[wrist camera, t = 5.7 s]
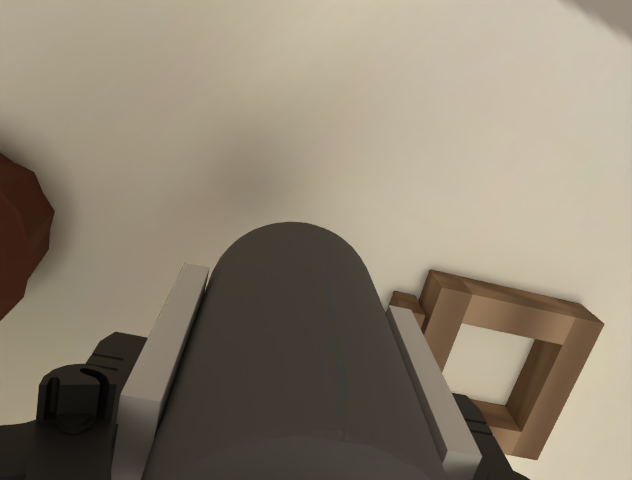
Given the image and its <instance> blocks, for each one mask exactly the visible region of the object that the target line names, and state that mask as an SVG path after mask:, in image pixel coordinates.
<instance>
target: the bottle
mask: <svg viewBox="0 0 632 480" xmlns="http://www.w3.org/2000/svg"><path fill="white" fill-rule="evenodd" d="M141 480H448V479H447V476H446V473H445V471H444V468H443V465H442V463H441V460H440V457H439V455H438V452H437V449H436V446H435V444H434V441H433V438H432V436H431V433H430V430H429V428H428V425H427V422H426V419H425V417H424V414H423V411H422V409H421V406H420V403H419V401H418V398H417V396H416V393H415V390H414V388H413V385H412V383H411V380H410V377H409V375H408V372H407V369H406V367H405V364H404V362H403V359H402V356H401V354H400V351H399V349H398V346H397V343H396V341H395V338H394V335H393V333H392V330H391V328H390V325H389V322H388V320H387V317H386V315H385V312H384V309H383V307H382V304H381V302H380V299H379V296H378V294H377V292H376V289H375V287H374V284H373V282H372V280H371V277H370V275H369V272H368V270H367V268H366V266H365V265H364V263H363V261H362V259H361V258H360V256H359V255H358V254H357V252H356V251H355V250H354V249H353V247H351V246H350V245H349V244H348V243H347V242H346V241H345V240H344V239H342V238H341V237H339V236H338V235H337V234H335V233H333V232H331V231H329V230H327V229H325V228H322V227H319V226H316V225H312V224H308V223H301V222H283V223H275V224H270V225H266V226H263V227H260V228H257V229H255V230H252V231H251V232H249V233H247V234H246V235H244V236H242V237H241V238H239V239H238V240H237V241H235V242H234V243H233V244H232V245H231V246H230V247H229V248H228V249H227V250H226V252H225V253H224V254H223V255H222V256H221V258H220V259H219V261H218V263H217V265H216V267H215V268H214V270H213V272H212V275H211V277H210V280H209V282H208V285H207V287H206V290H205V293H204V296H203V299H202V302H201V304H200V307H199V310H198V313H197V316H196V319H195V322H194V325H193V327H192V330H191V333H190V336H189V339H188V342H187V345H186V348H185V350H184V353H183V356H182V359H181V362H180V365H179V368H178V371H177V374H176V377H175V379H174V382H173V385H172V388H171V391H170V394H169V397H168V400H167V403H166V406H165V409H164V412H163V415H162V418H161V421H160V424H159V427H158V430H157V433H156V436H155V439H154V442H153V445H152V447H151V450H150V453H149V456H148V459H147V462H146V465H145V468H144V471H143V474H142V477H141Z"/></svg>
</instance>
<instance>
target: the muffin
mask: <svg viewBox="0 0 632 480" xmlns="http://www.w3.org/2000/svg"><path fill="white" fill-rule="evenodd" d="M54 213H55V211H54V209H53V208H52V206H51V205H50V203H49V202H48V200H47V199H46V197H45V196H44V194H43V192H42V190H41V187H40V185H39V183H38V180H37V178H36V176H35V173H34V172H32V171H30V170H28V169H26V168H24V167H22V166H20V165H18V164H16V163H14V162H12V161H11V160H10V159H8V158H7V157H5V156H4V155H3V154H1V153H0V321H1V320H2V319H3V318H4V317H5V316H6V315H7V314H8V313H9V312H10V311H11V310H12V309H13V308H14V307H15V306H16V304H17V303H18V302H19V301H20V300H21V299H22V298H23V297H24V293H25V289H26V285H27V281H28V279H29V277H30V276H31V274H32V273H33V271H34V270H35V268H36V267H37V266H38V264H39V263H40V261H41V260H42V258H43V257H44V255H45V254H46V252H47V251H48V249H49V235H50V227H51V224H52V220H53V216H54Z"/></svg>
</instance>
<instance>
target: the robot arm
mask: <svg viewBox="0 0 632 480" xmlns="http://www.w3.org/2000/svg"><path fill="white" fill-rule="evenodd" d="M208 272H209V268H206V267H201V266H196V265H192V264H187V263H185V264H184V266H183V268H182V270H181V272H180V274H179V276H178V278H177V280H176V282H175V284H174V286H173V288H172V290H171V292H170V294H169V296H168V298H167V300H166V302H165V304H164V307H163V309H162V311H161V313H160V315H159V317H158V319H157V321H156V323H155V325H154V327H153V329H152V331H151V333H150V335H149V337H148V338H146V337H141V336H136V335H130V334H125V333H119V332H114V333H113V334H111V335H109V336H108V337H106V338H104V339H103V340H101V341H100V342H99V344H98V345H97V347H96V348H95V350H94V351H93V353H92V356H90V358H89V359H88V361H87V362H86V364H74V365H66V366H63V367H60V368H57V369H54V370H52V371H51V372H50V373H48V374H47V375H45V376H44V377H43V379H42V381H41V383H40V384H39V393H38V404H37V415H36V420H33V421H30V422H26V423H21V424H14V425H1V426H0V480H141V477H142V474H143V471H144V468H145V465H146V462H147V459H148V456H149V453H150V450H151V447H152V445H153V442H154V439H155V436H156V433H157V430H158V427H159V424H160V421H161V418H162V415H163V412H164V409H165V406H166V403H167V400H168V397H169V394H170V391H171V388H172V385H173V382H174V379H175V377H176V374H177V371H178V368H179V365H180V362H181V359H182V356H183V353H184V350H185V348H186V345H187V342H188V339H189V336H190V333H191V330H192V327H193V325H194V322H195V319H196V316H197V313H198V310H199V307H200V304H201V302H202V299H203V296H204V292H205V287H206V282H207V277H208ZM386 317H387V320H388V322H389V325H390V328H391V330H392V333H393V335H394V338H395V341H396V343H397V346H398V349H399V351H400V354H401V356H402V359H403V362H404V364H405V367H406V369H407V372H408V375H409V377H410V380H411V383H412V385H413V388H414V390H415V393H416V396H417V398H418V401H419V403H420V406H421V409H422V411H423V414H424V417H425V419H426V422H427V425H428V428H429V430H430V433H431V436H432V438H433V441H434V444H435V446H436V449H437V452H438V455H439V457H440V460H441V463H442V465H443V468H444V471H445V473H446V476H447V479H448V480H530V479H528V478H527V477H525V476H523V475H521V474H519V473H517V472H515V471H513V470H512V468H511V466H510V464H509V462H508V460H507V459H506V457H505V455H504V453H503V451H502V449H501V448H500V446H499V444H498V442H497V440H496V438H495V437H494V436H493V433H492V431H491V429H490V427H489V425H487V422H486V420H485V418H484V416H483V414H482V413H481V411H480V409H479V408H478V407H477V406H476V405H475V404H474V403H473V402H472V401H471V400H470V399H469V398H468V397H467V396H466V395H461V394H456V393H451V391H450V389H449V387H448V385H447V383H446V381H445V379H444V377H443V375H442V372H441V370H440V368H439V366H438V364H437V362H436V360H435V358H434V356H433V354H432V352H431V350H430V348H429V346H428V344H427V342H426V340H425V337H424V335H423V333H422V331H421V329H420V327H419V325H418V323H417V321H416V319H415V317H414V315H413V313H412V311H411V310H410V309H405V308H401V307H396V306H391V305H389V306H388V309H387V313H386Z"/></svg>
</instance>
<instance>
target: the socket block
mask: <svg viewBox="0 0 632 480" xmlns="http://www.w3.org/2000/svg"><path fill="white" fill-rule="evenodd" d="M390 305H391V306H396V307H401V308H405V309H410V310H411V311H412V313H413V315H414V317H415V319H416V321H417V323H418V325H419V327H420V329H421V331H422V333H423V335H424V337H425V340H426V342H427V344H428V346H429V348H430V350H431V352H432V354H433V356H434V358H435V360H436V362H437V364H438V366H439V368H440V370H441V372H442V371H443V369H444V366H445V364H446V361H447V359H448V356H449V354H450V351H451V349H452V346H453V343H454V341H455V338H456V336H457V333H458V331H459V328H460V326H461V323H464V324H468V325H473V326H477V327H482V328H487V329H491V330H496V331H501V332H505V333H510V334H514V335H519V336H524V337H528V338H533V339H536V340H535V343H534V345H533V347H532V349H531V351H530V354H529V356H528V358H527V360H526V362H525V365H524V367H523V369H522V371H521V374H520V376H519V378H518V380H517V382H516V385H515V387H514V389H513V391H512V393H511V396H510V398H509V400H508V402H507V405H506V406H501V405H496V404H491V403H486V402H481V401H476V400H471V399H470V400H471V401H472V402H473V403H474V404H475V405H476V406H477V407H478V408H479V409H480V411H481V413H482V414H483V416H484V418H485V420H486V422H487V425H489V427H490V429H491V431H492V433H493V436H494V437H495V438H496V440H497V442H498V444H499V446H500V448H501V449H502V451H503V453H504V454H506V455H511V456H517V457H522V458H528V459H533V460H538V457H539V455H540V453H541V451H542V449H543V447H544V445H545V443H546V441H547V439H548V437H549V435H550V433H551V431H552V429H553V427H554V425H555V423H556V421H557V419H558V417H559V415H560V413H561V411H562V409H563V407H564V405H565V403H566V401H567V399H568V397H569V395H570V393H571V391H572V389H573V387H574V385H575V383H576V381H577V379H578V377H579V375H580V373H581V371H582V369H583V366H584V364H585V362H586V360H587V358H588V356H589V354H590V352H591V350H592V348H593V346H594V344H595V342H596V340H597V338H598V336H599V334H600V332H601V330H602V328H603V326H604V323H603V322H602V321H600V320H599V319H598V318H597V317H596V316H595V315H593V314H592V313H591V312H590V311H589V310H587V309H586V308H585V307H584V306H583V305H582V304H578V303H574V302H569V301H565V300H560V299H556V298H552V297H547V296H543V295H539V294H534V293H530V292H525V291H521V290H517V289H512V288H508V287H504V286H499V285H495V284H490V283H486V282H482V281H477V280H473V279H469V278H464V277H460V276H455V275H451V274H447V273H442V272H438V271H434V270H430V271H429V274H428V277H427V280H426V283H425V285H424V288H423V291H422V294H421V296H420V299H419V302H418V300H417V298H416V296H414V295H410V294H405V293H401V292H396V291H394V293H393V296H392V299H391V302H390Z"/></svg>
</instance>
